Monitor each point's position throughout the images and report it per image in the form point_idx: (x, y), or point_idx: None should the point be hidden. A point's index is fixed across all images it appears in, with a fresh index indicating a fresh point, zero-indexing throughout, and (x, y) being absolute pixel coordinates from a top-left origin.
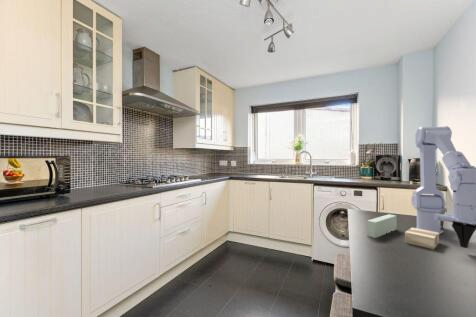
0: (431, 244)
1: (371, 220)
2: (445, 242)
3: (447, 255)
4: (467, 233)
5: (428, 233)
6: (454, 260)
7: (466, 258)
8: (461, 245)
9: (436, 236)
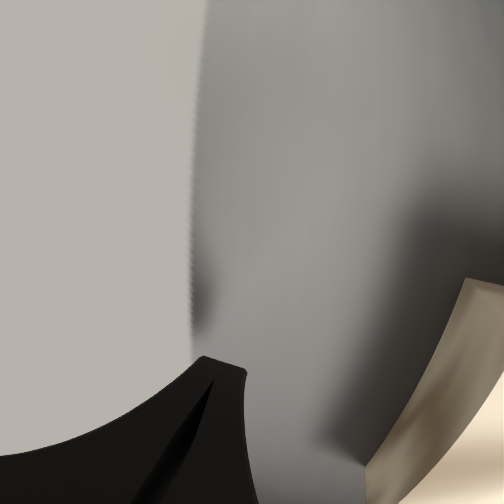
0: (498, 302)
1: None
2: (322, 486)
3: (379, 155)
4: (91, 468)
5: (474, 475)
6: (325, 33)
7: (225, 191)
8: (236, 375)
9: (430, 461)
